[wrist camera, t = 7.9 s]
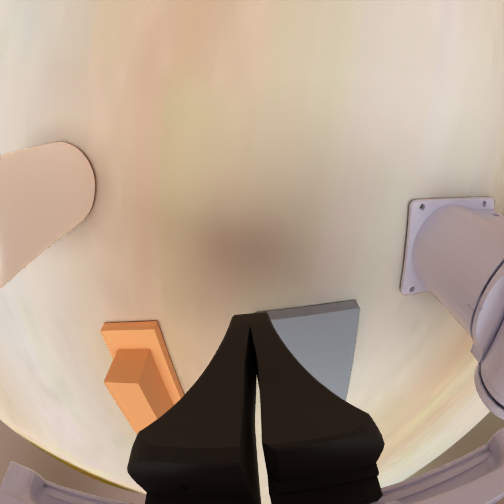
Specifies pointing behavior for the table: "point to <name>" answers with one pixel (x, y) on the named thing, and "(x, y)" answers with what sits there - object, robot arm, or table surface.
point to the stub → (140, 372)
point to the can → (40, 201)
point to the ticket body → (321, 340)
